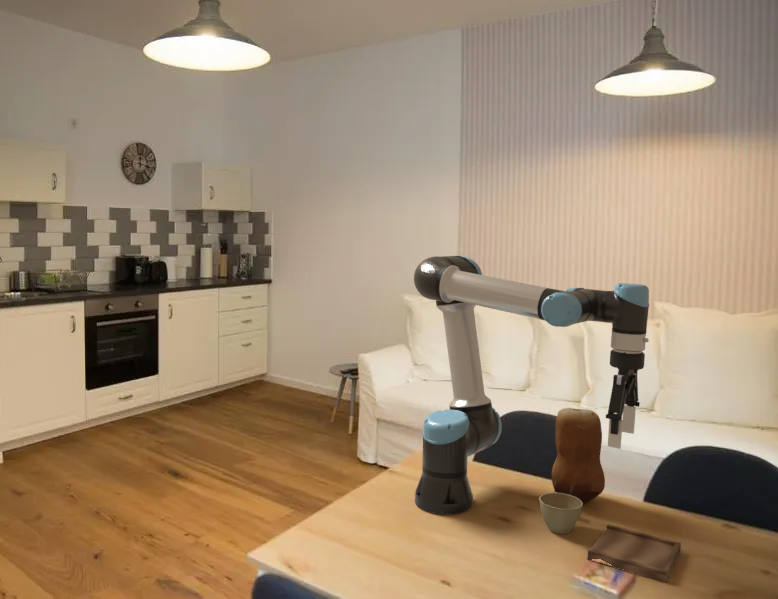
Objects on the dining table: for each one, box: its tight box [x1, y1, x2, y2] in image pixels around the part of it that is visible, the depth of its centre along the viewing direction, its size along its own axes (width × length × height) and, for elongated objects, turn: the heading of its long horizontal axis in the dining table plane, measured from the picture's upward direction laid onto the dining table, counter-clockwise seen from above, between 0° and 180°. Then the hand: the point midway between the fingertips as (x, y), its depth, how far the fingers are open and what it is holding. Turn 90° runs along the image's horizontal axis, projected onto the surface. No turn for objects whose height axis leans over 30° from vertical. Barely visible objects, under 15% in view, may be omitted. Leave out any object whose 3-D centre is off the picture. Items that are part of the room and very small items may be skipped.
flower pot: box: [538, 492, 584, 535], centre depth 154 cm, size 10×10×7 cm
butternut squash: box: [551, 407, 606, 505], centre depth 170 cm, size 14×13×25 cm
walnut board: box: [586, 523, 682, 584], centre depth 142 cm, size 16×16×2 cm
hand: (621, 439), depth 152 cm, fingers open, 13 cm apart
